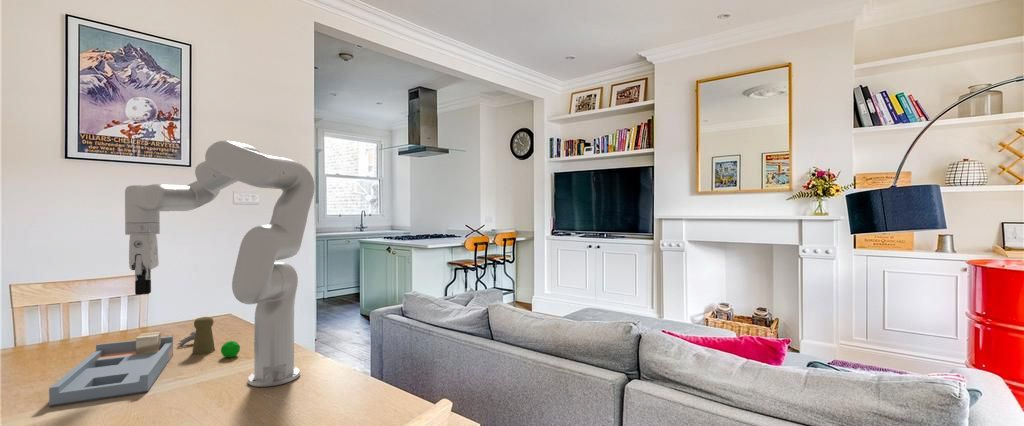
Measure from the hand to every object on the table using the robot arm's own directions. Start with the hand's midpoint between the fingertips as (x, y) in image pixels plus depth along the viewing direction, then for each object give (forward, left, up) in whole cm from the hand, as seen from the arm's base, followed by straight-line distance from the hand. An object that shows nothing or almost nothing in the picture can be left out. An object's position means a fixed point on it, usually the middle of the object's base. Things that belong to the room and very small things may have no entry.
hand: (143, 293), depth 126 cm
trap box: (-3, +4, -22) cm, 23 cm away
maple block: (+10, +1, -19) cm, 21 cm away
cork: (+13, -13, -22) cm, 29 cm away
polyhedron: (+3, -21, -22) cm, 31 cm away
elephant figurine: (+25, -9, -22) cm, 34 cm away
